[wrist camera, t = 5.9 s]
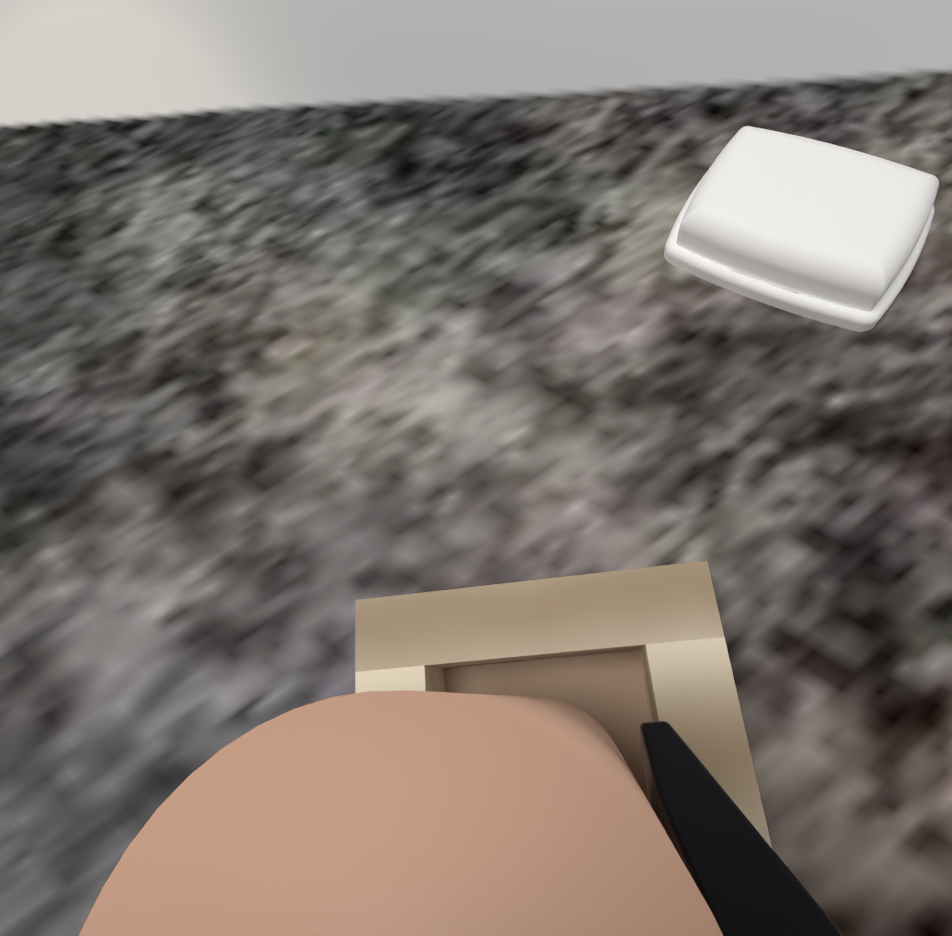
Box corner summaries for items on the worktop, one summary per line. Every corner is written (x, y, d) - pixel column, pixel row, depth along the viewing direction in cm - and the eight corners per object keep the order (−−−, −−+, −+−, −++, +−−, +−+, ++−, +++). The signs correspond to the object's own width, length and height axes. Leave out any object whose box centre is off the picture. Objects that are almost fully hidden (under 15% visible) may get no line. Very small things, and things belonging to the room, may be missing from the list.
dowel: (557, 944, 14) (383, 2225, 2) (420, 799, 15) (-96, 1101, 4) (668, 783, 14) (977, 1108, 3) (527, 661, 16) (368, 563, 5)
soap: (650, 267, 26) (657, 218, 23) (721, 155, 27) (735, 96, 24) (869, 348, 23) (906, 302, 20) (936, 217, 24) (979, 157, 21)
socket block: (775, 974, 16) (813, 1032, 14) (392, 982, 18) (357, 1035, 15) (691, 578, 20) (707, 560, 18) (384, 612, 22) (355, 600, 19)
